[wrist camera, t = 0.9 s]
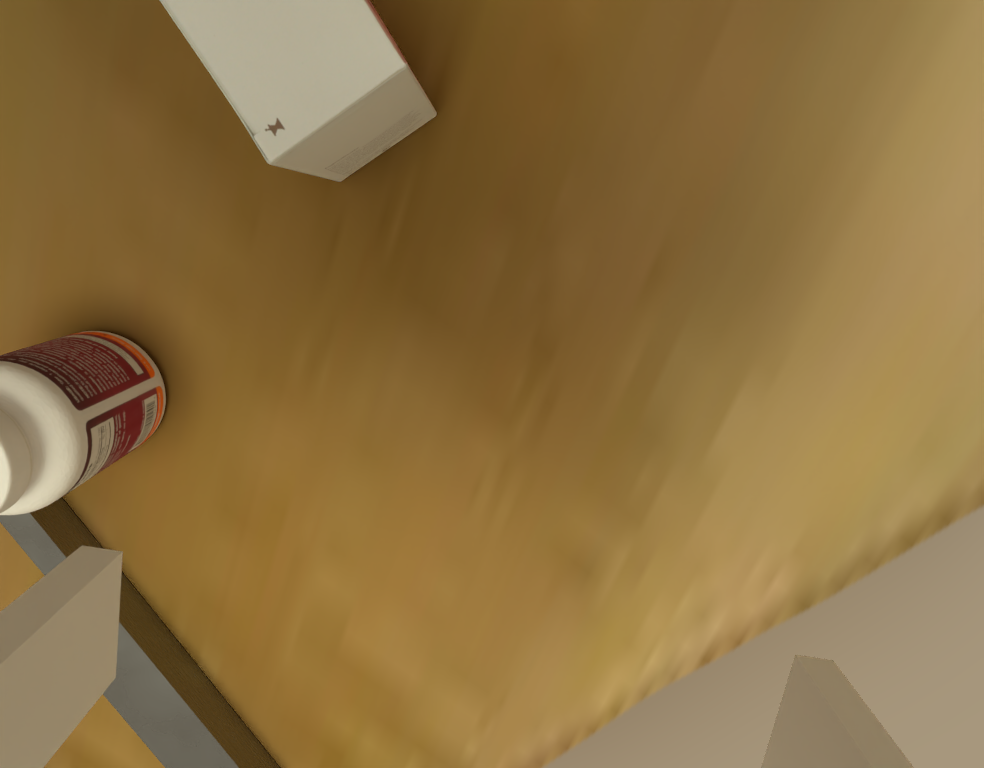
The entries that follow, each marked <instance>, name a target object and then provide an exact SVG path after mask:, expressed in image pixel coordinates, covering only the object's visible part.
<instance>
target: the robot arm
mask: <svg viewBox="0 0 984 768" xmlns="http://www.w3.org/2000/svg"><path fill="white" fill-rule="evenodd" d="M122 554H123V552H122V551H115V550H109V549H102V548H96V547H89V546H83V545H82V546H81V547H79V548H78V549H77V550H76V551H74V552H73V553H72V554H71V555H69V556H68V557H67V558H66V559H65V560H63V561H62V562H61V563H60V564H58V565H57V566H56V567H55V568H54V569H52V570H51V571H50V572H49V573H47V574H46V575H45V576H44V577H43V578H41V579H40V580H39V581H38V582H36V583H35V584H34V585H33V586H32V587H30V588H29V589H28V590H27V591H25V592H24V593H23V594H22V595H21V596H19V597H18V598H17V599H16V600H14V601H13V602H12V603H11V604H10V605H8V606H7V607H6V608H5V609H3V610H2V611H1V612H0V768H43V767H44V766H45V765H46V764H47V762H48V761H49V760H50V759H51V757H52V756H53V755H54V754H55V752H56V751H57V750H58V749H59V747H60V746H61V745H62V744H63V742H64V741H65V740H66V739H67V738H68V736H69V735H70V734H71V733H72V731H73V730H74V729H75V728H76V726H77V725H78V724H79V723H80V721H81V720H82V719H83V718H84V716H85V715H86V714H87V713H88V711H89V710H90V709H91V708H92V706H93V705H94V704H95V703H96V702H97V700H98V699H99V698H100V697H101V695H102V694H103V693H104V692H105V690H106V689H107V688H108V687H109V685H110V684H111V683H112V682H113V680H114V679H115V678H116V665H117V646H118V628H119V609H120V591H121V573H122ZM761 768H914V767H913V766H912V764H911V763H910V762H909V760H908V759H907V758H906V757H905V755H904V754H903V753H902V751H901V750H900V749H899V747H898V746H897V745H896V743H895V742H894V741H893V739H892V738H891V737H890V735H889V734H888V733H887V731H886V730H885V729H884V727H883V726H882V725H881V723H880V722H879V721H878V719H877V718H876V717H875V715H874V714H873V713H872V712H871V710H870V709H869V707H868V706H867V705H866V704H865V702H864V701H863V699H862V698H861V697H860V695H859V694H858V693H857V691H856V690H855V689H854V687H853V686H852V685H851V683H850V682H849V681H848V679H847V678H846V677H845V675H844V674H843V673H842V672H841V670H840V669H839V668H838V666H837V665H836V664H835V662H834V661H833V660H827V659H820V658H814V657H807V656H800V655H795V658H794V661H793V664H792V668H791V671H790V674H789V678H788V681H787V684H786V687H785V691H784V694H783V697H782V701H781V704H780V707H779V711H778V714H777V717H776V721H775V724H774V727H773V730H772V734H771V737H770V740H769V744H768V747H767V751H766V754H765V757H764V760H763V763H762V767H761Z"/></svg>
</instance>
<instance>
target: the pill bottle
mask: <svg viewBox="0 0 984 768" xmlns="http://www.w3.org/2000/svg"><path fill="white" fill-rule="evenodd" d="M165 405H166V393H165V387H164V383H163V379H162V377H161V374H160V372H159V370H158V368H157V366H156V365H155V363H154V362H153V361H152V359H151V358H150V357H149V356H148V354H147V353H146V352H145V351H144V350H142V349H141V348H140V347H139V346H138V345H136V344H135V343H133V342H132V341H130V340H128V339H126V338H124V337H122V336H119V335H116V334H113V333H110V332H103V331H84V332H80V333H75V334H70V335H67V336H64V337H61V338H57V339H54V340H51V341H47V342H44V343H41V344H37V345H34V346H30V347H27V348H24V349H20V350H17V351H14V352H10V353H7V354H4V355H1V356H0V515H18V514H25V513H30V512H33V511H36V510H39V509H41V508H44V507H46V506H48V505H50V504H51V503H53V502H55V501H56V500H58V499H59V498H61V497H63V496H64V495H66V494H67V493H69V492H70V491H72V490H73V489H75V488H76V487H78V486H79V485H81V484H82V483H84V482H85V481H87V480H88V479H90V478H91V477H93V476H94V475H96V474H97V473H99V472H100V471H102V470H103V469H105V468H106V467H108V466H110V465H111V464H113V463H114V462H116V461H117V460H119V459H120V458H122V457H123V456H125V455H126V454H128V453H129V452H131V451H133V450H134V449H136V448H137V447H139V446H140V445H141V444H143V443H144V442H145V441H146V440H147V439H148V438H149V437H150V436H151V435H152V434H153V433H154V432H155V430H156V429H157V427H158V426H159V424H160V422H161V420H162V417H163V414H164V410H165Z"/></svg>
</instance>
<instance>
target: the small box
mask: <svg viewBox="0 0 984 768" xmlns="http://www.w3.org/2000/svg"><path fill="white" fill-rule="evenodd" d="M160 2H161V3H162V4H163V6H164V7H165V9H166V10H167V12H168V13H169V15H170V16H171V18H172V19H173V21H174V22H175V24H176V25H177V26H178V28H179V29H180V31H181V32H182V34H183V35H184V37H185V38H186V40H187V41H188V43H189V44H190V45H191V47H192V48H193V50H194V51H195V53H196V54H197V56H198V57H199V58H200V60H201V61H202V63H203V64H204V66H205V67H206V69H207V70H208V72H209V73H210V75H211V76H212V78H213V79H214V81H215V82H216V84H217V85H218V87H219V88H220V90H221V91H222V93H223V94H224V95H225V97H226V98H227V100H228V101H229V103H230V104H231V106H232V107H233V109H234V110H235V112H236V114H237V115H238V117H239V118H240V120H241V121H242V123H243V124H244V126H245V127H246V129H247V131H248V132H249V134H250V135H251V137H252V139H253V141H254V142H255V144H256V145H257V147H258V149H259V150H260V152H261V153H262V155H263V157H264V158H265V160H266V162H267V163H268V164H270V165H274V166H278V167H282V168H286V169H290V170H294V171H298V172H302V173H306V174H310V175H314V176H318V177H322V178H326V179H330V180H334V181H338V182H341V181H343V180H344V179H345V178H347V177H348V176H350V175H351V174H352V173H354V172H355V171H357V170H358V169H360V168H361V167H363V166H364V165H366V164H367V163H369V162H370V161H371V160H373V159H374V158H376V157H377V156H379V155H380V154H382V153H383V152H385V151H386V150H387V149H389V148H390V147H392V146H393V145H395V144H396V143H398V142H399V141H401V140H402V139H404V138H405V137H407V136H408V135H409V134H411V133H412V132H414V131H415V130H417V129H418V128H420V127H421V126H422V125H424V124H425V123H427V122H428V121H430V120H431V119H433V118H434V117H435V116H436V115H437V112H436V110H435V109H434V107H433V105H432V103H431V102H430V100H429V98H428V97H427V95H426V93H425V92H424V90H423V88H422V87H421V85H420V83H419V81H418V80H417V78H416V77H415V75H414V73H413V72H412V70H411V68H410V67H409V65H408V63H407V61H406V60H405V58H404V56H403V54H402V53H401V51H400V49H399V47H398V46H397V44H396V42H395V41H394V39H393V37H392V36H391V34H390V32H389V31H388V29H387V27H386V26H385V24H384V23H383V21H382V19H381V18H380V16H379V14H378V13H377V11H376V9H375V8H374V6H373V4H372V3H371V1H370V0H160Z"/></svg>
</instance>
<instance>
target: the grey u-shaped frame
mask: <svg viewBox="0 0 984 768" xmlns="http://www.w3.org/2000/svg"><path fill="white" fill-rule="evenodd" d="M0 522H1V524H2V525H3V526H4V527H5V528H6V530H7V531H8V532H9V533H10V534H11V536H12V537H13V538H14V539H15V540H16V542H17V543H18V544H19V545H20V546H21V548H22V549H23V550H24V551H25V552H26V554H27V555H28V556H29V557H30V558H31V560H32V561H33V562H34V563H35V564H36V566H37V567H38V568H39V569H40V570H41V572H42V573H43V574H44V575H46V574H47V573H49V572H50V571H51V570H52V569H54V568H55V567H56V566H57V565H58V564H60V563H61V562H62V561H63V560H65V559H66V558H67V557H68V556H69V555H71V554H72V553H73V552H74V551H76V550H77V549H78V548H79V547H81V546H82V545H83V546H89V547H96V548H102V547H101V545H100V544H99V543H98V542H97V540H96V539H95V538H94V537H93V536H92V534H91V533H90V532H89V531H88V529H87V528H86V527H85V526H84V524H83V523H82V522H81V521H80V519H79V518H78V517H77V516H76V514H75V513H74V512H73V511H72V510H71V508H70V507H69V506H68V505H67V503H66V502H65V501H64V500H63V498H62V497H61V498H59V499H58V500H56V501H55V502H53V503H51V504H50V505H48V506H46V507H44V508H41V509H39V510H36V511H33V512H30V513H25V514H18V515H0ZM102 549H103V548H102ZM103 695H104V696H105V697H106V698H107V699H108V701H109V702H110V703H111V704H112V705H113V706H114V708H115V709H116V710H117V711H118V712H119V714H120V715H121V716H122V717H123V718H124V719H125V721H126V722H127V723H128V724H129V725H130V727H131V728H132V729H133V730H134V731H135V732H136V734H137V735H138V736H139V737H140V738H141V739H142V741H143V742H144V743H145V744H146V745H147V747H148V748H149V749H150V750H151V751H152V752H153V754H154V755H155V756H156V757H157V758H158V760H159V761H160V762H161V763H162V764H163V765H164V767H165V768H280V767H279V766H278V765H277V764H276V762H275V761H274V760H273V759H272V757H271V756H270V755H269V754H268V752H267V751H266V750H265V749H264V747H263V746H262V745H261V744H260V742H259V741H258V740H257V739H256V737H255V736H254V735H253V734H252V733H251V731H250V730H249V729H248V728H247V726H246V725H245V724H244V723H243V721H242V720H241V719H240V718H239V716H238V715H237V714H236V713H235V711H234V710H233V709H232V708H231V707H230V705H229V704H228V703H227V702H226V700H225V699H224V698H223V697H222V695H221V694H220V693H219V692H218V690H217V689H216V688H215V687H214V685H213V684H212V683H211V682H210V681H209V679H208V678H207V677H206V676H205V674H204V673H203V672H202V671H201V669H200V668H199V667H198V666H197V664H196V663H195V662H194V661H193V659H192V658H191V657H190V656H189V654H188V653H187V652H186V651H185V650H184V648H183V647H182V646H181V645H180V643H179V642H178V641H177V640H176V638H175V637H174V636H173V635H172V633H171V632H170V631H169V630H168V628H167V627H166V626H165V625H164V624H163V622H162V621H161V620H160V619H159V617H158V616H157V615H156V614H155V612H154V611H153V610H152V609H151V607H150V606H149V605H148V604H147V602H146V601H145V600H144V599H143V597H142V596H141V595H140V594H139V593H138V591H137V590H136V589H135V588H134V586H133V585H132V584H131V583H130V581H129V580H128V579H127V578H126V576H125V575H124V574H123V573H121V591H120V609H119V628H118V646H117V665H116V678H115V679H114V680H113V682H112V683H111V684H110V685H109V687H108V688H107V689H106V690H105V692H104V693H103Z"/></svg>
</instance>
